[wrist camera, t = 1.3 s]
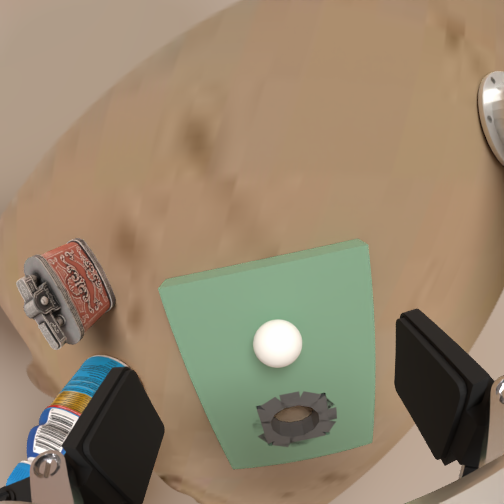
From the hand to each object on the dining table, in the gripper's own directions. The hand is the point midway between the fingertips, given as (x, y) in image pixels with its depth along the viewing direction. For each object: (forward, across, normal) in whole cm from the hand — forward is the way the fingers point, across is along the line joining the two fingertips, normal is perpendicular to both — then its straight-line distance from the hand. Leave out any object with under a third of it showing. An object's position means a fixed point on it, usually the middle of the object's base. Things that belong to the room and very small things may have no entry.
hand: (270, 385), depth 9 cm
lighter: (+18, +17, -1) cm, 25 cm away
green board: (+18, 0, +14) cm, 23 cm away
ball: (+14, 0, +7) cm, 15 cm away
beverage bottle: (+18, +20, +12) cm, 30 cm away
